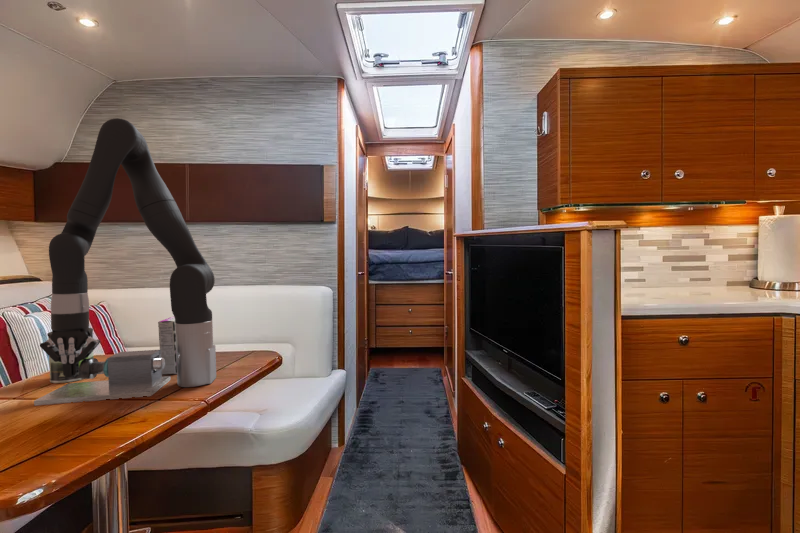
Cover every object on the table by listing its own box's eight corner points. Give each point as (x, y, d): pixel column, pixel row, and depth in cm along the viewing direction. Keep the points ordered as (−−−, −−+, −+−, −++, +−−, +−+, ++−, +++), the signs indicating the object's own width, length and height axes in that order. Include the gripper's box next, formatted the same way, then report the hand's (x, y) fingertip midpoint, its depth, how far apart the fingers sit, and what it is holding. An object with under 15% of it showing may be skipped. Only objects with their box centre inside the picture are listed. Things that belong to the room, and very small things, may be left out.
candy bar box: (177, 364, 127) (175, 315, 126) (193, 364, 127) (191, 314, 127) (159, 375, 116) (157, 321, 115) (176, 374, 116) (174, 320, 116)
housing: (170, 379, 111) (169, 346, 111) (150, 396, 98) (149, 358, 98) (68, 387, 106) (67, 352, 106) (34, 405, 93) (32, 365, 93)
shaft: (166, 370, 107) (166, 351, 107) (159, 376, 102) (158, 356, 102) (91, 375, 104) (90, 356, 103) (79, 381, 98) (78, 361, 98)
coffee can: (101, 375, 117) (98, 329, 116) (57, 385, 108) (54, 335, 107) (86, 370, 122) (84, 326, 122) (44, 379, 113) (41, 332, 113)
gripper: (107, 308, 105) (107, 371, 105) (50, 309, 102) (51, 374, 103) (91, 312, 98) (91, 380, 98) (29, 313, 95) (30, 383, 95)
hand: (71, 376), depth 100 cm, fingers closed
